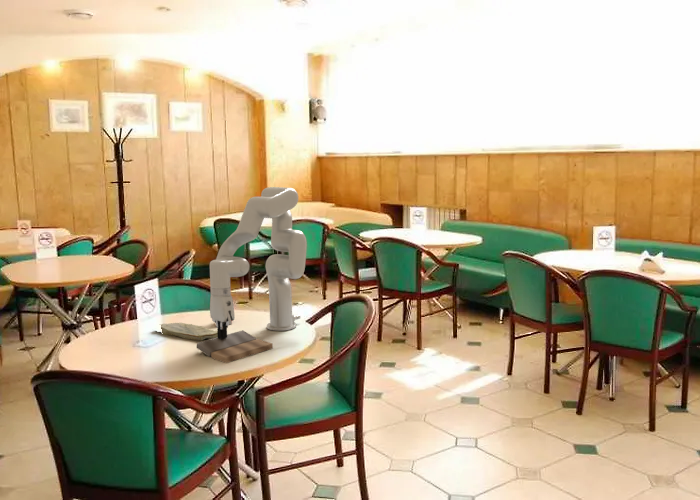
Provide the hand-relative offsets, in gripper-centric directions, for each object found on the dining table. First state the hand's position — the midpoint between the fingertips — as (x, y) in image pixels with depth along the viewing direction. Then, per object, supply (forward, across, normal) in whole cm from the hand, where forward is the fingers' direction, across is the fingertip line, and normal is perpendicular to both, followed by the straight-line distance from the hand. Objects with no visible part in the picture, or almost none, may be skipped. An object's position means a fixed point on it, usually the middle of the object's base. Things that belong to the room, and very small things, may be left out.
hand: (222, 338), depth 251 cm
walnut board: (+4, -12, -1) cm, 12 cm away
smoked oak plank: (+3, -2, 0) cm, 3 cm away
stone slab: (+4, +27, -1) cm, 28 cm away
